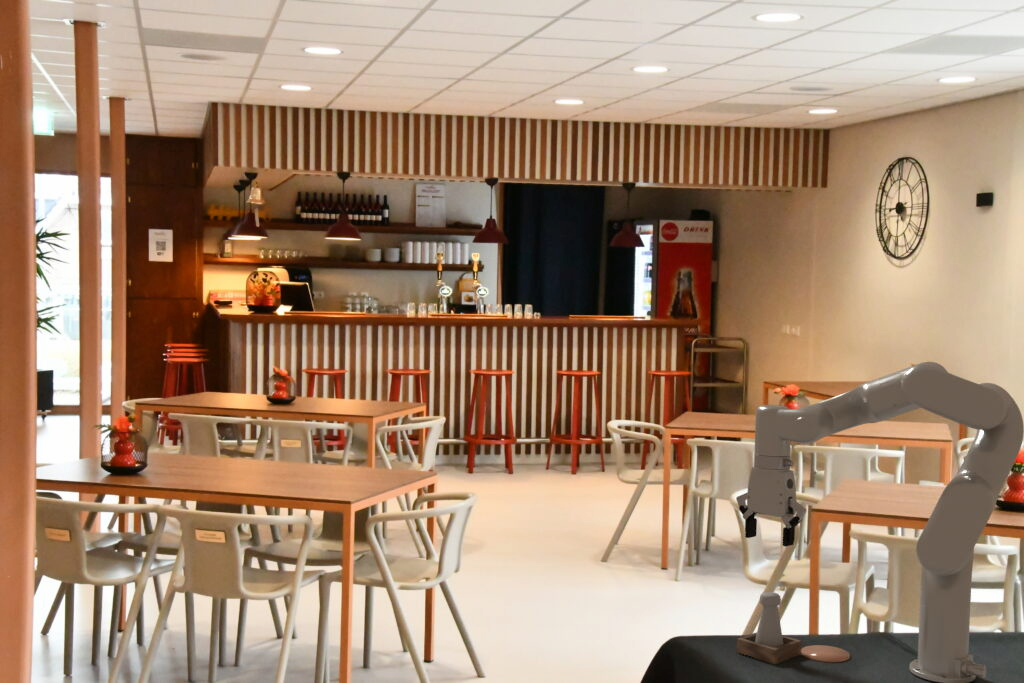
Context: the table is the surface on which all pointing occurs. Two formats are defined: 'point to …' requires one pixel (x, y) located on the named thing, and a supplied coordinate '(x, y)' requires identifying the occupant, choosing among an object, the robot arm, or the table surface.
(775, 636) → the salt shaker
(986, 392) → the robot arm
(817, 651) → the orange round disc
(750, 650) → the square wooden frame
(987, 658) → the table surface
